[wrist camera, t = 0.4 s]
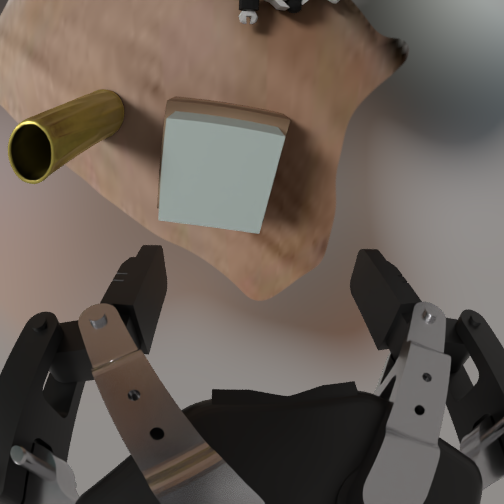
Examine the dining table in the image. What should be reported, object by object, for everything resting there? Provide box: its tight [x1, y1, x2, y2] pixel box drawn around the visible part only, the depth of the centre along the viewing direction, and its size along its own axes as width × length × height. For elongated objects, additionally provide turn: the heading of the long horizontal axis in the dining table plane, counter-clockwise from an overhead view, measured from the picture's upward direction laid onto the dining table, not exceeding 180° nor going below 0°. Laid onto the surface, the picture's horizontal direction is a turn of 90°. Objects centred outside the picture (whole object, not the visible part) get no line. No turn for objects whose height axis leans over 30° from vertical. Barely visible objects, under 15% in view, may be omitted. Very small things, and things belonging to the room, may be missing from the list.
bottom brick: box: [157, 97, 290, 223], centre depth 29 cm, size 12×12×4 cm
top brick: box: [159, 111, 285, 234], centre depth 25 cm, size 10×10×4 cm
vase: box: [8, 90, 124, 184], centre depth 20 cm, size 6×6×14 cm
